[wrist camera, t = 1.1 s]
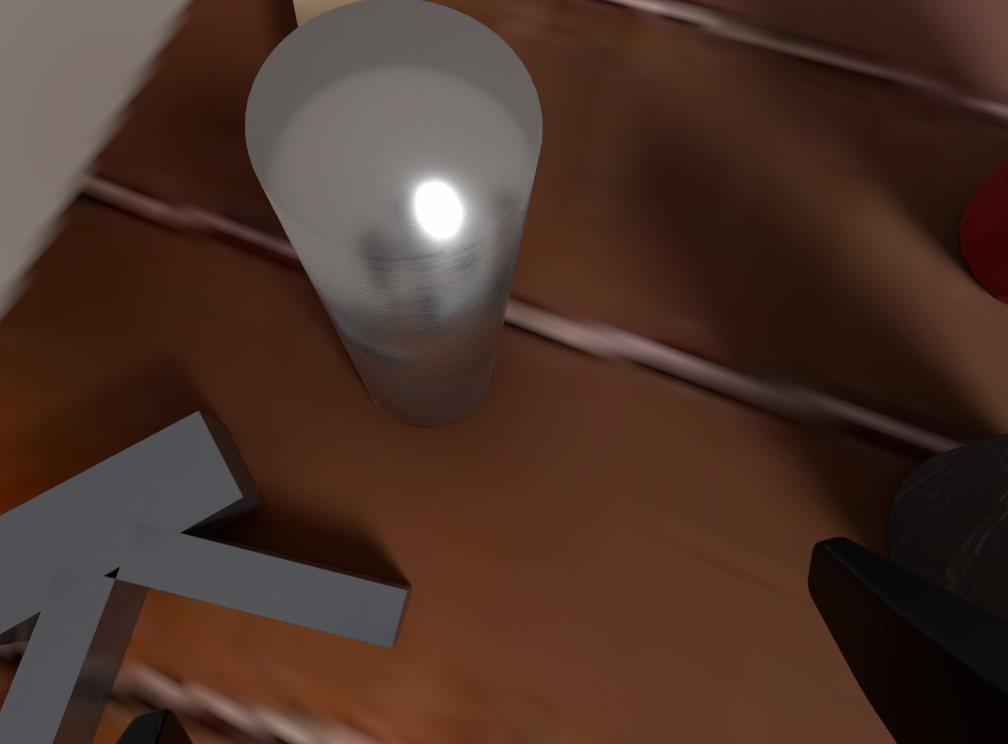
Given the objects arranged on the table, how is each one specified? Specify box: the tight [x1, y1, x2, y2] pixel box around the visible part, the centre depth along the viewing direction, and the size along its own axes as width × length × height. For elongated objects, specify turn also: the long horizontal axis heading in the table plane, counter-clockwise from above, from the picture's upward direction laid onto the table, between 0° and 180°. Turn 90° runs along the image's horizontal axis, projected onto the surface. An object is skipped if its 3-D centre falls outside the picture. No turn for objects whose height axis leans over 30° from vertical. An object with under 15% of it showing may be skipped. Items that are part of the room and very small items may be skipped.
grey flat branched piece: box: [0, 411, 412, 744], centre depth 20 cm, size 9×14×2 cm, turn 121°
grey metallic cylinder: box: [245, 0, 543, 428], centre depth 17 cm, size 5×5×14 cm
